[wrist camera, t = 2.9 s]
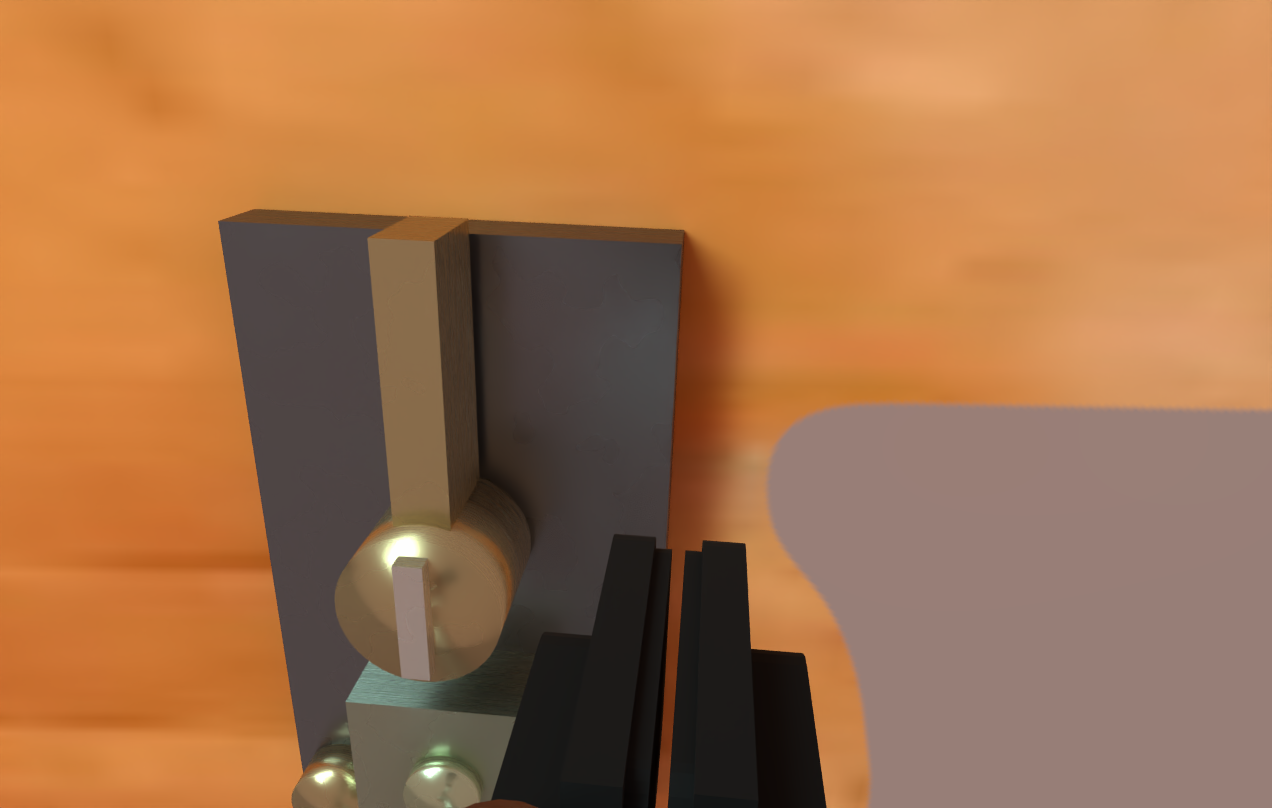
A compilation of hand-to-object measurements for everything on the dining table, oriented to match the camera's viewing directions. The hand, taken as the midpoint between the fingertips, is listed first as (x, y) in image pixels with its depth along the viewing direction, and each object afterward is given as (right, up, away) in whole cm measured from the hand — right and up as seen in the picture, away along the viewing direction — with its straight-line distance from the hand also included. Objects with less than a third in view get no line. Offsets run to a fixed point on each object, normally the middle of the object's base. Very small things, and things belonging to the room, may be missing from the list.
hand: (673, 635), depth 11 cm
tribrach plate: (-6, -2, +19) cm, 20 cm away
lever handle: (-6, +2, +14) cm, 16 cm away
